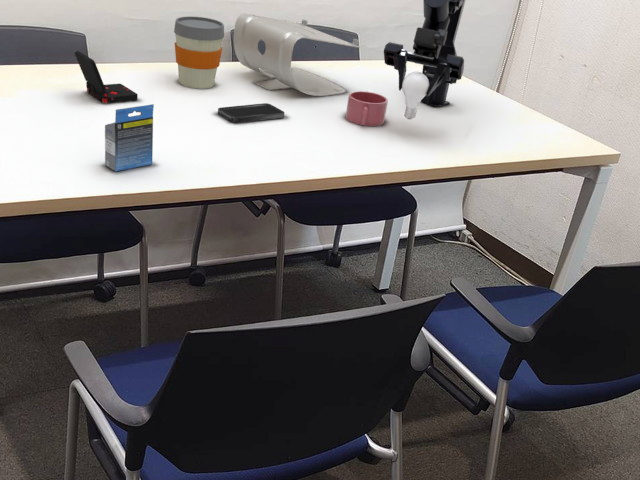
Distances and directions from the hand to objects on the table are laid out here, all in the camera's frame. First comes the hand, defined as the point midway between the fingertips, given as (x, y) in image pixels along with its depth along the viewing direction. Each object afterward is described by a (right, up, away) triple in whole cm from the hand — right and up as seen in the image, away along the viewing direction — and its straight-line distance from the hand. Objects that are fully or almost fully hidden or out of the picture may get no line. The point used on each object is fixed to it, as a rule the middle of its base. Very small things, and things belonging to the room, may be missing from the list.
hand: (413, 92), depth 204 cm
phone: (-38, -4, +6) cm, 39 cm away
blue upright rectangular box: (-61, -24, -29) cm, 72 cm away
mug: (-10, -3, +13) cm, 17 cm away
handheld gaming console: (-72, 0, +5) cm, 73 cm away
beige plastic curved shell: (-28, +13, +33) cm, 46 cm away
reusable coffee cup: (-53, +10, +23) cm, 58 cm away
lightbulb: (0, -5, +5) cm, 7 cm away
